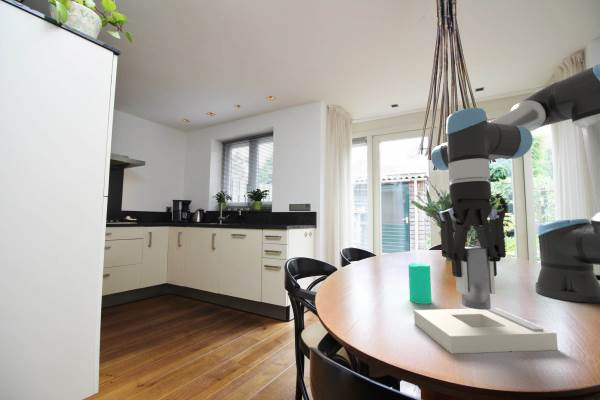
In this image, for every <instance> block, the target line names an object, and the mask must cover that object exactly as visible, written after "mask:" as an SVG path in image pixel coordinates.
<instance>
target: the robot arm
mask: <svg viewBox="0 0 600 400" xmlns="http://www.w3.org/2000/svg"><path fill="white" fill-rule="evenodd" d="M569 120H571V123H572V125H575V126H577V127H580V128H581V133H582V139H583V144H584V145H583V146H584V150H585V154H586V155H585V156H586V160H587V161H586V162H587V165H588V170H589V171H588V172H589V177H590V181H591V182H590V183H591V186H592V192H593V197H594V201H595V202H594V203H595V207H596V213H595V214H594V215H593V216H592V217H591V218H590V219H588V218H575V219H573V218H572V219H561V220H552V221H545V222H542V223H540V224H539V225H538V234H537V238H538V244H539V256H540V258H539V259H540V270H539V274H538V278H537V282H535V284H534V285H535V286H534V287H535V292H536V293H537V294H539V295H541V296H544V297H547V298H548V297H549V298H553V299H557V300H563V301H570V302H578V303H588V304H589V303H590V304H591V303H592V304H593V303H594V304H595V303H596V304H597V303H600V282H599V280H598V278H597V276H596V274H595V269H594V265H595V266H600V64H596V65H594V66H592V67H590V68H587V69H585V70H582V71H581V72H578V73H575V74H573V75H571V76H569V77H567V78H564V79H561V80H559V81H556V82H554V83H552V84H549V85H547V86H545V87H543V88H541V89H540V90H537V91H536V92H535V93H533V94H532V95H530V96H528V97H526V98H525V99H523V100H521V101H519V102H518V103H516V104H515V105H513V106H512V108H511V109H510V110H509V111H508V112H505V113H503V114H501V115H500V116H498V117H496V118H494V119H492V120H489V121H488V117H487V113H486V111H485V110H484V109H483V108H481V107H469V108H468V107H467V108H464V109H460V110H457V111H454V112H453V113H451V114H450V115H449V116H448V117H447V118H446V127H445V128H446V129H445V136H446V142H442V143H441V144H440V145H437V146H436V147H433V149H432V152H431V154H430V158H431V159H430V160H431V162H432V164H433V166H434V167H435V169H437V170H439V171H447V170H448V178H449V179H448V181H449V183H451V184H450V185H449V199H450V202H451V203H450V206H449V208H448V209H446V210H442V211H438V212H437V218H438V219H439V222H440V241H441V242H440V243H441V256H442V257H443V258H445V259H448V260H450V261H451V274H452V276H453V277H455V285H456V287H455V288H456V292H457V293H460V294H461V295H462V294H465V295H468V278H467V262H464V261H462V260H463V255H464V250H465V246H466V243H467V238H468V233H469V231H470V229H471V226H472V228H473V229H474V230H475V233H476V236H477V239H478V243H479V247H485V248H487V252H488V268H489V284H490V295H494V294H496V284H495V277H497V275H498V270H497V262H499V263H500V261H501V259H502V258H506V255H507V254H506V253H507V251H506V250H507V249H506V239H505V228H504V220H505V217H506V212H505V210H498V209H495V208H493V207H492V205H491V202H490V200H491V198H492V188H491V186H492V184H491V182H490V181H488V180H490V179H491V168H490V161H494V160H499V159H500V160H501V159H504V160H511V159H518V158H521V157H523V156H525V155H526V154H527V153H528V152H529V151H530V150H531V148H532V146H533V139H534V137H533V135H532V131H536V130H537V129H539V128H542V127H545V126H549V125H552V124H556V123H557V124H558V123H561V122H565V121H569ZM453 218H454V219H455V222H453ZM453 224H454V225H453Z"/></svg>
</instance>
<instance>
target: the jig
mask: <svg viewBox="0 0 600 400" xmlns="http://www.w3.org/2000/svg"><path fill="white" fill-rule="evenodd" d="M413 315H414V317H413V318H414V325H416V326H417V327H418V328H420V329H421V331H422V332H424V333H426V334H427V336H430V338H431V339H433V340H434V341H435V342H437V343H438V344H439V345H440V346H442V347H443V348H444V350H446V351H447V352H448V353H450V354H476V353H479V354H480V353H508V352H509V351H512V352H533V351H534V352H537V351H539V352H541V351H557V350H558V349H559V347H558V337H557V336H558V335H557V332H555V331H553V330H550V329H548V328H546V327H544V326H541V325H538V324H536V323H533V322H531V321H529V320H528V319H524V318H521V317H520V316H517V315H515V314H512V313H511V312H510V313H509V312H508V311H506V310H503V309H501V308H497V307H491V309H488V310H480V309H473V308H450V309H448V308H446V309H445V308H444V309H442V308H441V309H414V310H413Z"/></svg>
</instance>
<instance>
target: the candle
mask: <svg viewBox="0 0 600 400" xmlns="http://www.w3.org/2000/svg"><path fill="white" fill-rule="evenodd" d="M408 284H409V285H408V287H409V289H408V290H409V301H411V302H412V303H416V304H431V302H432V301H433V300H432V279H431V265H430V264H425V263H414V262H411V263H409V264H408Z"/></svg>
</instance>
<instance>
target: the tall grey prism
mask: <svg viewBox="0 0 600 400" xmlns="http://www.w3.org/2000/svg"><path fill="white" fill-rule="evenodd" d="M462 261H464V262H467V278H468V295H465V294H462V293H461V301H462V302H461V303H462V305H463V306H464V307H467V308H468V309H480V310H488V309H491V308H492V301H491V300H492V299H491V293H490V284H489V268H488V252H487V248H485V247H481V246H472V245H471V246H470V245H469V246H466V245H465V250H464V255H463V260H462Z"/></svg>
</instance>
